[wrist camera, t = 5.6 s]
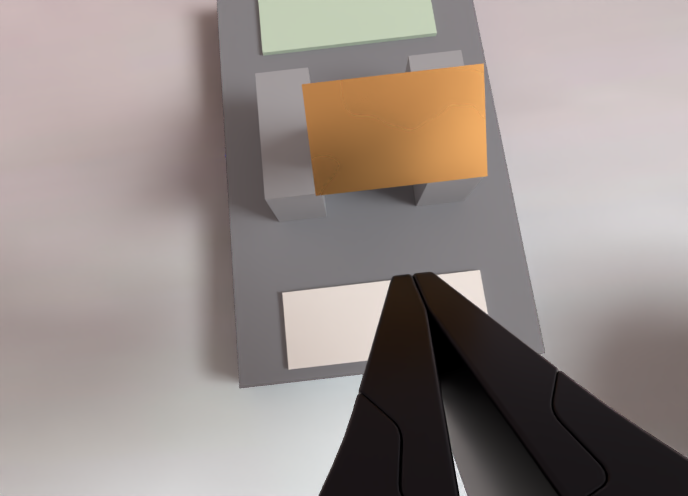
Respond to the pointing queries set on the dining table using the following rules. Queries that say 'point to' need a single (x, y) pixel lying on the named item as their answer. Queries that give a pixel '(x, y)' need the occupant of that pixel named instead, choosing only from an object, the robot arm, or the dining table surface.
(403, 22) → the switch panel
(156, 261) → the dining table surface
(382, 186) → the lever
